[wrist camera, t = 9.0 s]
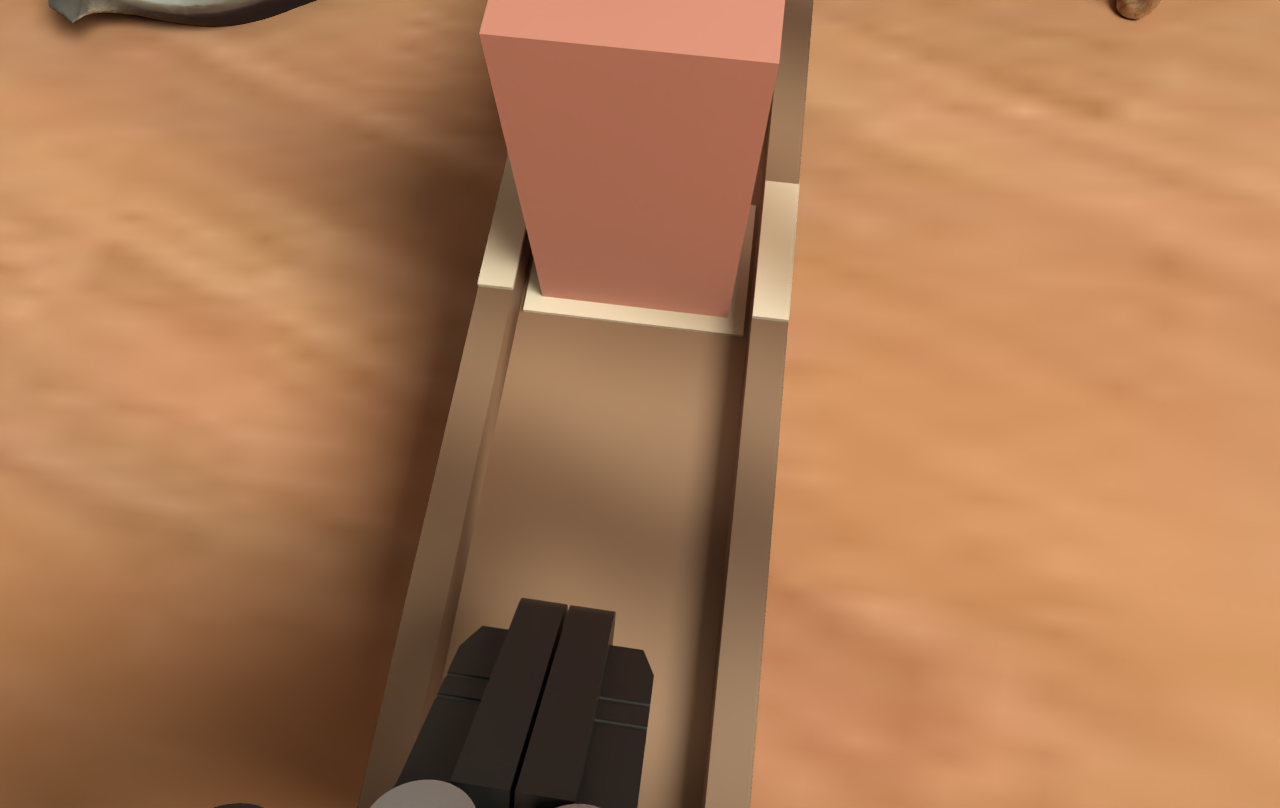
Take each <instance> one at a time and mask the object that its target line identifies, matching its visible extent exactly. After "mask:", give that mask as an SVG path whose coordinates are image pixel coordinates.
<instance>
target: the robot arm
mask: <svg viewBox="0 0 1280 808" xmlns="http://www.w3.org/2000/svg"><path fill="white" fill-rule="evenodd" d="M615 617H616V612H615V611H608V610H601V609H595V608H588V607H581V606H574V605H570V607H569V609H568V605H567V604H562V603H555V602H549V601H542V600H535V599H528V598H521V600H520V601H519V604H518V606H517V609H516V611H515V614H514V617H513V619H512V622H511V624H510V627H509V629H502V628H495V627H489V626H481V627H480V628H479V629H478V630H477V631H476V632H475V633H473V634H472V635H471V636H470V637H469V638H468V639H467V640H465V641H464V642H463V643H462V644H461V645H460V646H459V647H458V650H457V652H456V654H455V656H454V658H453V661H452V663H451V665H450V667H449V669H448V671H447V676H446V677H445V678H444V680H443V682H442V685H441V687H440V689H439V691H438V695H437V698H435V700H434V702H433V704H432V706H431V709H430V711H429V713H428V715H427V717H426V720H425V722H424V724H423V726H422V728H421V731H420V733H419V735H418V737H417V739H416V741H415V744H414V746H413V748H412V750H411V752H410V755H409V757H408V759H407V761H406V763H405V765H404V768H403V770H402V772H401V774H400V776H399V778H398V780H397V782H396V784H395V785H394V787H393V788H392V789H391V790H390V791H388V792H386V793H385V794H384V795H382V796H381V797H380V798H379V799H378V800H377V801H376V802H375V803H374V804H373V805H372V806H371V807H370V808H637V807H638V799H639V791H640V783H641V775H642V767H643V759H644V751H645V743H646V736H647V728H648V720H649V712H650V704H651V696H652V688H653V680H654V674H653V672H652V669H651V667H650V664H649V662H648V660H647V657H646V655H645V652H644V650H641V649H634V648H627V647H621V646H614V645H613V637H614V627H615ZM215 808H262V807H260V806H257V805H252V804H243V803H237V804H227V805H222V806H218V807H215Z"/></svg>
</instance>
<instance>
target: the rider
mask: <svg viewBox="0 0 1280 808" xmlns="http://www.w3.org/2000/svg"><path fill="white" fill-rule="evenodd" d="M784 7H785V0H488V2H487V6H486V9H485V13H484V17H483V21H482V24H481V28H480V32H479V36H480V40H481V44H482V48H483V52H484V56H485V60H486V65H487V69H488V73H489V77H490V81H491V85H492V89H493V93H494V97H495V102H496V106H497V110H498V114H499V118H500V122H501V126H502V130H503V134H504V139H505V143H506V147H507V151H508V155H509V159H510V163H511V167H512V172H513V176H514V180H515V184H516V188H517V192H518V196H519V200H520V204H521V209H522V213H523V217H524V221H525V225H526V229H527V233H528V237H529V241H530V246H531V250H532V254H533V258H534V262H535V266H536V270H537V274H538V279H539V283H540V287H541V291H542V295H543V296H545V297H553V298H562V299H570V300H579V301H587V302H596V303H605V304H613V305H622V306H630V307H639V308H647V309H656V310H664V311H673V312H682V313H690V314H699V315H707V316H716V317H724V318H728V314H729V309H730V304H731V299H732V294H733V289H734V284H735V279H736V274H737V269H738V264H739V259H740V254H741V249H742V244H743V240H744V235H745V230H746V225H747V220H748V215H749V210H750V205H751V200H752V195H753V190H754V185H755V180H756V175H757V170H758V166H759V161H760V156H761V151H762V146H763V141H764V136H765V131H766V126H767V121H768V116H769V111H770V106H771V101H772V96H773V92H774V87H775V82H776V77H777V72H778V67H779V60H780V49H781V39H782V28H783V17H784Z"/></svg>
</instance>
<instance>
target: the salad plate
mask: <svg viewBox="0 0 1280 808" xmlns="http://www.w3.org/2000/svg"><path fill="white" fill-rule="evenodd" d="M313 1H316V0H48V3H49V7H50V8H52V9H54V10H56V11H57V12H59V13H61V14H63V15H64V16H65V17H66V18H67V19H68V20H70V21H71V22H72V23H74V22H75V21H77V20H78V19H80V18H82V17H83V16H86V15H89V14H92V13H100V12H106V13H120V14H131V15H138V16H143V17H148V18H152V19H157V20H163V21H169V22H174V23H179V24H186V25H196V26H205V27H220V26H234V25H240V24H246V23H250V22H255V21H259V20H263V19H266V18H269V17H272V16H275V15H278V14H281V13H284V12H286V11H289V10H291V9H294V8H296V7H299V6H302V5H305V4H308V3H310V2H313Z"/></svg>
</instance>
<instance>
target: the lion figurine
mask: <svg viewBox="0 0 1280 808" xmlns="http://www.w3.org/2000/svg"><path fill="white" fill-rule="evenodd" d="M1160 1H1161V0H1117V4H1116V7H1117V10H1118V11H1119V13H1120V14H1121V15H1122V16H1124V17H1126V18H1130V19H1140V18H1142V17H1144V16H1146V15H1148V14H1149V13H1150V12H1151V11H1152V10H1154V8H1155V7H1156V6H1157V5H1158V4H1159V3H1160Z"/></svg>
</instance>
